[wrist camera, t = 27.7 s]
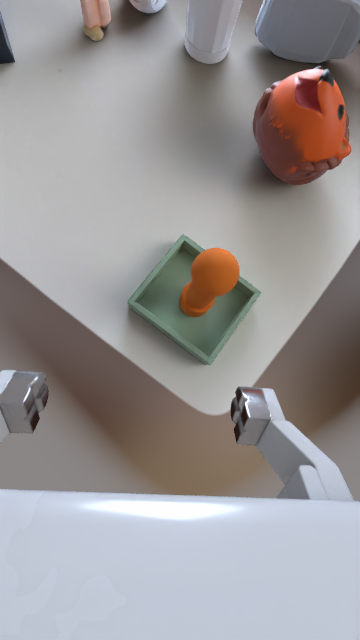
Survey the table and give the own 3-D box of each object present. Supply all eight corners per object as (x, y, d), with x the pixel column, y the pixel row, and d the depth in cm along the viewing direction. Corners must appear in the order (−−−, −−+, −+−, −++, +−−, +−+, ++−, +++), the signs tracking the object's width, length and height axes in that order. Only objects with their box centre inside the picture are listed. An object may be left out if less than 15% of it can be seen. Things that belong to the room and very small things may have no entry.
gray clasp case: (342, 55, 41) (387, -18, 33) (342, 71, 41) (388, 1, 33) (250, 37, 40) (274, -43, 32) (249, 53, 39) (273, -24, 32)
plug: (184, 322, 32) (204, 295, 19) (174, 291, 32) (188, 246, 20) (214, 312, 32) (253, 281, 20) (204, 283, 33) (236, 233, 20)
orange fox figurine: (227, 138, 37) (260, 39, 26) (290, 113, 38) (347, 10, 27) (271, 213, 36) (326, 143, 24) (334, 183, 37) (413, 106, 26)
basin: (128, 306, 32) (127, 302, 29) (180, 242, 34) (183, 233, 31) (205, 364, 32) (210, 364, 29) (253, 297, 33) (261, 292, 31)
